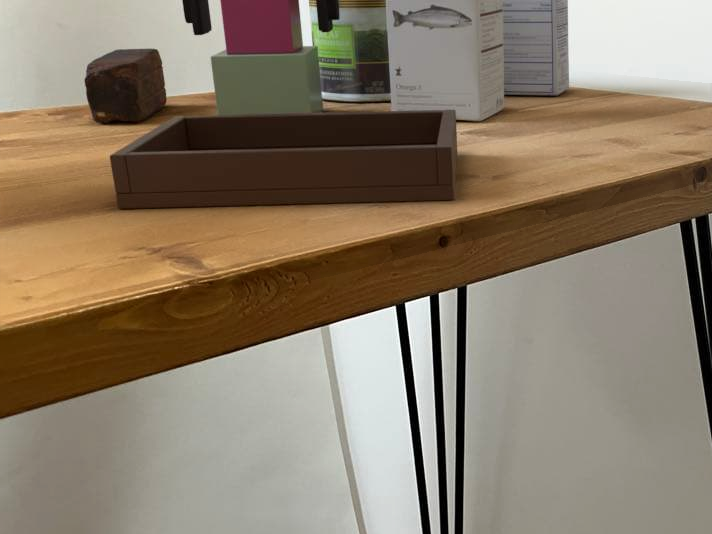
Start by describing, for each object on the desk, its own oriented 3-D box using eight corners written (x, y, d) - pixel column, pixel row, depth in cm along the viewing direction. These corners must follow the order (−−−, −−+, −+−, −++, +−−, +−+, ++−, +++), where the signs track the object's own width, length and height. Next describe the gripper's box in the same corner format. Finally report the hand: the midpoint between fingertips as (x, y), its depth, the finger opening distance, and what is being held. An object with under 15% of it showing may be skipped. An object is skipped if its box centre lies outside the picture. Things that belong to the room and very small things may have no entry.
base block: (218, 125, 84) (210, 56, 82) (237, 111, 91) (229, 47, 89) (311, 122, 85) (305, 54, 83) (323, 109, 91) (317, 45, 89)
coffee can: (374, 106, 92) (361, -79, 87) (291, 97, 98) (274, -76, 93) (456, 92, 100) (449, -79, 94) (374, 85, 106) (363, -77, 100)
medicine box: (570, 90, 100) (569, -13, 96) (557, 97, 96) (556, -10, 92) (486, 89, 102) (483, -12, 98) (470, 95, 98) (466, -10, 94)
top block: (226, 54, 83) (218, -17, 81) (239, 48, 88) (231, -19, 86) (293, 53, 83) (286, -18, 81) (303, 47, 88) (296, -21, 86)
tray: (117, 209, 58) (108, 155, 57) (180, 160, 71) (174, 116, 70) (453, 200, 59) (451, 146, 58) (457, 153, 71) (455, 109, 70)
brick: (121, 106, 95) (112, 48, 93) (169, 104, 95) (160, 47, 93) (89, 126, 85) (78, 62, 83) (143, 124, 85) (133, 60, 83)
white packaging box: (389, 120, 85) (377, -59, 80) (421, 107, 91) (412, -60, 86) (482, 122, 83) (475, -60, 78) (508, 108, 90) (503, -61, 85)
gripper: (364, -219, 82) (382, 26, 89) (127, -216, 81) (163, 31, 88) (354, -233, 75) (374, 33, 82) (95, -230, 75) (136, 39, 81)
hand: (264, 31), depth 85 cm, fingers open, 9 cm apart
